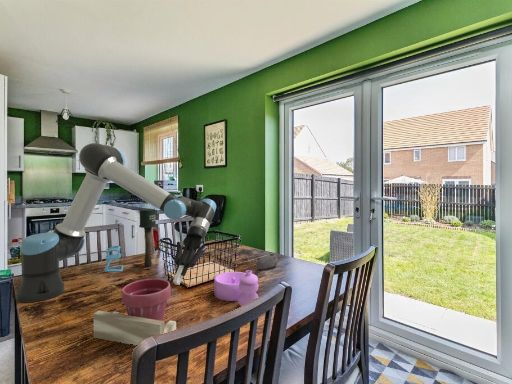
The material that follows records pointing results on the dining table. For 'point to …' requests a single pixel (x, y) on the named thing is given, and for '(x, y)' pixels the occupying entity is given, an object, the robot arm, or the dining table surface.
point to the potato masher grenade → (147, 231)
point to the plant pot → (146, 298)
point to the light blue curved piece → (113, 257)
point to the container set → (236, 286)
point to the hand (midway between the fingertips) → (176, 283)
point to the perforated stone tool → (267, 261)
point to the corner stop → (128, 327)
